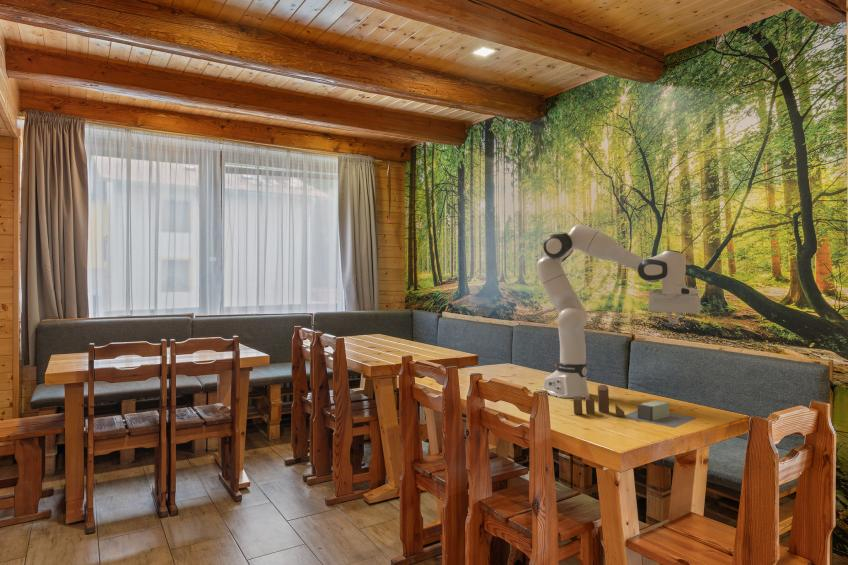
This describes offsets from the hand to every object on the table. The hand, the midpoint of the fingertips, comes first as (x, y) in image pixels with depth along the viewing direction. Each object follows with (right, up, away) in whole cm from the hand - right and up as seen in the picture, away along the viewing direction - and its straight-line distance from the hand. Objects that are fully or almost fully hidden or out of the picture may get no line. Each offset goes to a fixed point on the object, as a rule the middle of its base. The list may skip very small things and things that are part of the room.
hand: (673, 323), depth 226 cm
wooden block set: (-36, -33, -17) cm, 52 cm away
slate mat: (-16, -33, -23) cm, 43 cm away
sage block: (-13, -30, -19) cm, 38 cm away
